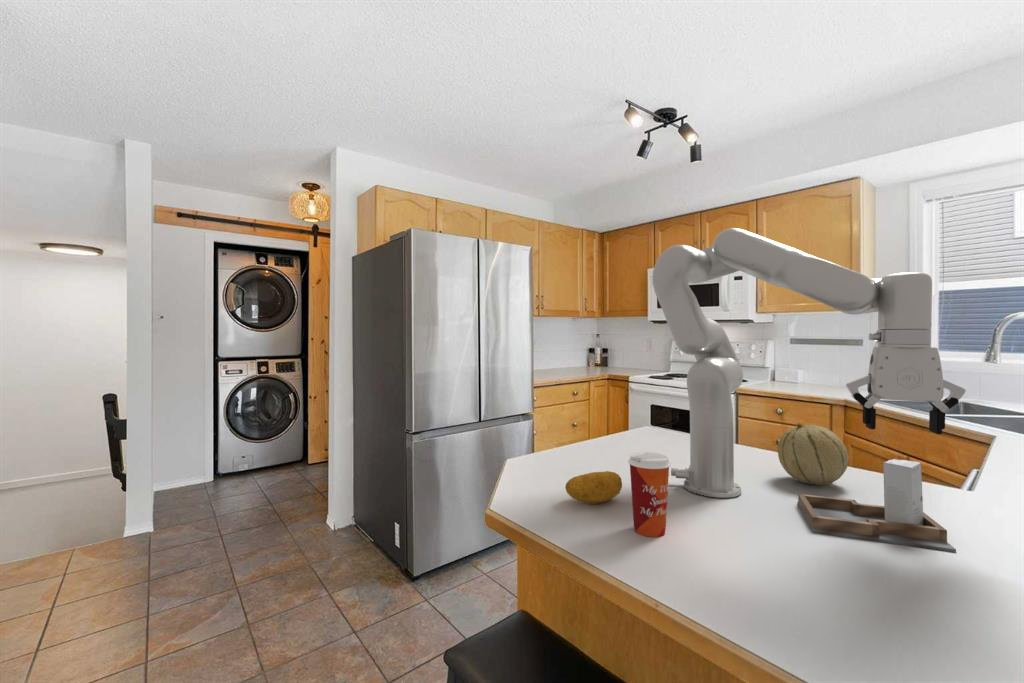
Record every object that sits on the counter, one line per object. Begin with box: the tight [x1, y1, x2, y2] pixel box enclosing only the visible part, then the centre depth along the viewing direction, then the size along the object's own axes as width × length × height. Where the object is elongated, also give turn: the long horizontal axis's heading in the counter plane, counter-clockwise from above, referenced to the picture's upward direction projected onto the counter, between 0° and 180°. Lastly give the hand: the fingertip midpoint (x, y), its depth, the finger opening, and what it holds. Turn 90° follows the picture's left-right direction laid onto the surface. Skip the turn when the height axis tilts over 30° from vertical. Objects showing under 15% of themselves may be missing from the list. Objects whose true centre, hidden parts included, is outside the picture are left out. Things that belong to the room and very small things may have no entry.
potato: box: [564, 470, 623, 505], centre depth 98 cm, size 8×14×7 cm, turn 110°
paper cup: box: [627, 451, 672, 538], centre depth 83 cm, size 8×8×14 cm
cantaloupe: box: [777, 422, 850, 486], centre depth 111 cm, size 15×15×15 cm
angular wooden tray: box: [797, 493, 957, 553], centre depth 85 cm, size 20×16×2 cm
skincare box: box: [882, 458, 924, 526], centre depth 83 cm, size 6×4×12 cm
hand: (902, 430), depth 83 cm, fingers open, 9 cm apart
